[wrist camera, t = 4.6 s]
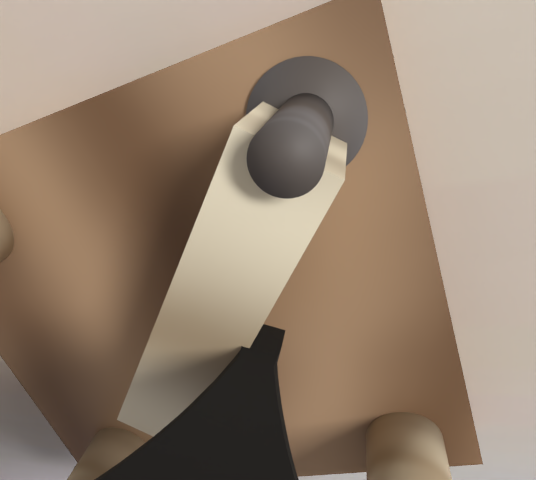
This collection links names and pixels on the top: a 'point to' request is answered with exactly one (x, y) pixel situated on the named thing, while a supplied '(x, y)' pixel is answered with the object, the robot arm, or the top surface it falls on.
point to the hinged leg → (238, 253)
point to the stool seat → (178, 232)
